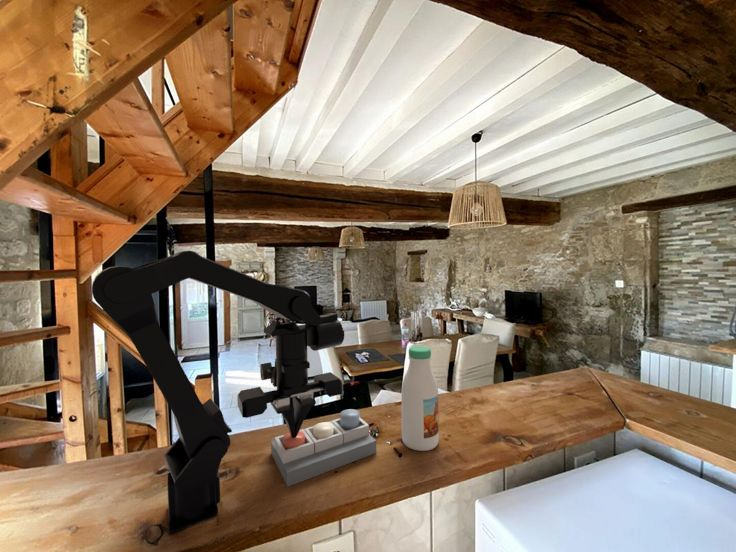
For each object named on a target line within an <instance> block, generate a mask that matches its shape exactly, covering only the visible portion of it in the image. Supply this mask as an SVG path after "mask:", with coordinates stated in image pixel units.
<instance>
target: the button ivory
mask: <svg viewBox="0 0 736 552" xmlns="http://www.w3.org/2000/svg"><path fill="white" fill-rule="evenodd" d="M328 422H329V421H325V422H324V421H323V422H318V423H317V424H314V425H313V426H314V427H313V436H314V437H315V438H316V440H319V439H322V438H325V437H328V436H332V435H334V434H333V425H332V424H331V423H328Z"/></svg>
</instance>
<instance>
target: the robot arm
mask: <svg viewBox="0 0 736 552" xmlns="http://www.w3.org/2000/svg"><path fill="white" fill-rule="evenodd" d="M187 279H190V280H193V281H196V282H198V283H201V284H204V285H207V286H209V287H212V288H215V289H217V290H221V291H224V292H226V293H229V294H232V295H235V296H238V297H239V298H244V299H245V300H249V301H252V302H253V303H254V304H256V305H258V306H260V307H261V308H263V309H264V310H265V311H267V312H268V313H271V314H272V315H274V316H276V317H278V318H281V319H284V320H289V321H291V322H285V323H284V322H283V323H280V321H277V320H274V319H273V320H271V322H270V324H269V325H267V327H265V328H264V329H263V333H264V334H266V335H268V336H270V337H275V358H274V366H273V365H272V362H264V363H263V362H262V363H261V364H260V366H259V367H260V369H259V370H260V371H259V372H260V380H262V381H264V380H265V381H266V380H270V384H272V386H273V388H276V389H274V390H270V391H264V390H263V389H262V387H261V386H257V387H251V388H246V389H242V390H240V391H239V393H238V394H237V408H238V409H239V412H240V414H241V417H242V418H244V419H245V418H246V419H247V418H251V417H255V416H260V415H263V414H264V413H265V411H266V410H267V409H268V404H270V405H271V406H272V408H273V410H274V411H275V412H276V414H278V415H281V414H282V416H283V419H284V422H285V424H286V427H287V430H288V432H290V435H291V437H292V438H294V437H297V435H298V432H299V430H301V427H302V425H303V423H304V420H305V419H306V417H307V414H308V413H309V412H310V410H311V408H312V407H313V406H316V404H317V401H316V400H315V399H314V393H317V392H320V391H324V394H326V395H327V396H328V397H329V398H331V397H336V396H339V395H343V393H344V383H343V380H341V378H340V377H338V376H336V375H335V373H333V372H331V371H329V372H324V373H321V374H315V375H314V377H313V381H311V382H309V379H308V378H309V375H308V370H309V369H311V368H310V366H311V365H310V361H308V347H309V348H310V349H311V350H312V351H315V352H316V351H320V350H324V349H331V348H333V347H338V346H341V345H342V344H343V342H344V341H345V330H344V328H343V325H342V323H341V321H340V320H339V318H338V317H339V316H338V314H337V313H334V312H330V313H329V312H328V313H325V314H321V315H319V312H317V310H316V309H315V308H314V306H313V305H312V299H311V297H310V296H311V295H310V294H309V293H308V292H307V291H305V290H303V289H298V288H294V287H289V286H284V285H279V284H273V283H268V282H266V281H264V280H261V279H258V278H255V277H254V276H251V275H248V274H246V273H243V272H240V271H238V270H236V269H235V268H231V267H229V266H226V265H225V264H221V263H219V262H217V261H214V260H212V259H209V258H206V257H205V256H202V255H201V254H200V253H198V252H197V251H193V250H184V251H183V250H182V251H178V252H176V253H174V254H173V255H170V256H167V257H164V258H161V259H157V260H154V261H150V262H148V263H144V264H141V265H137V266H135V267H128V266H117V265H116V266H110V267H107V268H105V269H103V270H101V271H100V272H99V273H97V275H95V277H94V279H93V281H92V284H91V295H92V296H93V299H94V301H95V302H96V303H97V305H99V307H101V308H102V310H103V311H104V312H105V313H106V314H107V316H108V317H109V318H110V319H111V320H113V322H114V323H115V324H116V325H117V326H118V327H119V328H120V329H121V330H122V331H123V333H124V334H126V335H127V336H128V337H129V339H130V340H131V341H132V344H133V345H134V347H135V349H136V351H137V352H138V355H140V357H141V360H142V361H143V363H144V364H145V366H146V369H148V372H149V373H150V375H151V377H152V378H153V380H154V382H155V384H156V386H157V387H158V389H159V391H160V393H161V394H162V396H163V398H164V399H165V401H166V403H167V405H168V406H169V408H170V410H171V412H172V414H173V415H172V416H173V420H174V423H175V428H176V430H177V434H178V438H177V440H175V442H174V443H173V444H172V445H171V447H169V449H168V450H167V451H166V453H165V454H164V458H165V462H166V465H167V467H168V469H169V472H168V473H167V505H168V506H167V508H168V509H167V511H168V512H167V513H168V514H167V515H168V516H167V533H168V535H170V534H174V533H177V532H179V531H182V530H184V529H187V528H189V527H192V526H195V525H197V524H200V523H202V522H205V521H208V520H210V519H213V518H215V517H217V516H218V515H219V507H218V504H220V502H221V483H220V482H221V481H220V474H219V469H220V465H221V462H222V459H223V458H224V457H225V455H226V454H227V452H228V450H229V447H230V446H231V438H230V435H229V434H230V433H232V432H233V429H232V428H231V427H230V426H229V425H228V423H227V422H226V421H225V418H224V415H223V413H222V409H220V407H219V406H218V404H216V403H215V402H214V401H213V400H212V398H209V399H208V400H206V401H205V402H204V403H203V402H202V401H201V400H200V399H199V396H198V395H197V392H196V391H195V389H194V387H193V385H192V383H191V381H190V380H189V378H188V376H187V375H186V372H185V371H184V369H183V367H182V365H181V363H180V361H179V359H178V357H177V355H176V353H175V352H174V350H173V348H172V347H171V345H170V342H169V341H168V339H167V337H166V335H165V333H164V332H163V329H162V327H161V325H160V324H159V319H158V315H157V310H156V305H155V301H154V298H153V294H154V293H157V292H160V291H162V290H164V289H165V290H166V289H167V288H169V287H171V286H173V285H176V284H179V283H180V282H182V281H185V280H187ZM297 322H299V323H300V322H301V323H303V324H301V325H298V324H297ZM291 398H292V404H291Z"/></svg>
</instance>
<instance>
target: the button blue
mask: <svg viewBox="0 0 736 552" xmlns="http://www.w3.org/2000/svg"><path fill="white" fill-rule="evenodd" d="M339 418H340V426H341V427H342V428H343V429H344V430H350V429H353V428H357V427H359V426H360V418H361V417H360V411H359V410H358V409H353V408H349V409H344V410H342V411H340V415H339Z"/></svg>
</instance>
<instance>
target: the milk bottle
mask: <svg viewBox="0 0 736 552" xmlns="http://www.w3.org/2000/svg"><path fill="white" fill-rule="evenodd" d="M431 357H432V350H431V348H430V347H428V346H423V345H414V346H411V347H409V348H408V359H409V363H408V364H409V365H408V367H407V371H406V373H405V374H404V377H403V380H402V384H401V385H402V386H401V440H402V442H403V444H404V445H405V446H406V447H407V448H409V449H411V450H413V451H420V452H426V451H431V450H434V448H436V447H437V446H438V444H439V439H440V438H439V434H440V433H439V432H440V431H439V428H440V427H439V423H440V422H439V421H440V419H439V418H440V416H439V415H440V414H439V410H440V409H439V401H440V400H439V388H438V383H437V379H436V376H435V375H434V373H433V370H432V366H431V360H432V358H431Z"/></svg>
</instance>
